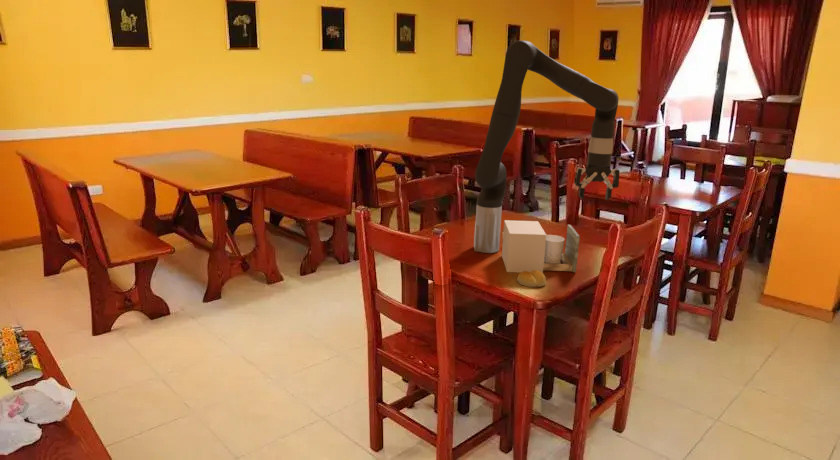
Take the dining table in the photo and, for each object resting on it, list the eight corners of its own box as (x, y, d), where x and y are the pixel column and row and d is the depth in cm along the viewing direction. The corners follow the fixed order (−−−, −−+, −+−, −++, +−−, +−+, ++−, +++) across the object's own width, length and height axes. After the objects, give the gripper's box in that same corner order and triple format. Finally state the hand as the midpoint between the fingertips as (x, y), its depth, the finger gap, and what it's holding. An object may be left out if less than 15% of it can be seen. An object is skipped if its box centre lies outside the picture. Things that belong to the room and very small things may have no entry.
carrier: (536, 270, 194) (539, 234, 190) (529, 257, 207) (532, 223, 204) (578, 272, 194) (582, 236, 190) (569, 258, 207) (572, 224, 203)
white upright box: (506, 271, 193) (509, 233, 189) (501, 255, 209) (504, 220, 205) (542, 273, 193) (546, 234, 189) (534, 257, 209) (538, 221, 205)
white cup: (562, 270, 196) (565, 242, 193) (538, 268, 198) (541, 240, 195) (561, 262, 204) (564, 235, 201) (538, 260, 205) (541, 233, 202)
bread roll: (514, 278, 188) (515, 267, 187) (540, 278, 189) (541, 267, 188) (521, 288, 180) (522, 276, 179) (549, 288, 181) (550, 276, 180)
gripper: (581, 152, 186) (576, 200, 191) (625, 153, 186) (619, 202, 191) (575, 148, 193) (570, 195, 198) (618, 150, 193) (612, 197, 198)
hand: (594, 199), depth 194 cm, fingers open, 8 cm apart
